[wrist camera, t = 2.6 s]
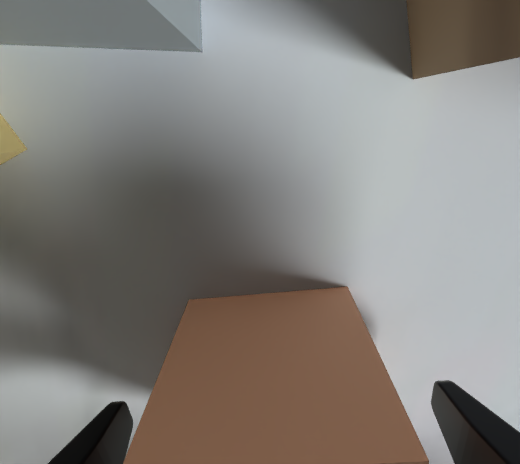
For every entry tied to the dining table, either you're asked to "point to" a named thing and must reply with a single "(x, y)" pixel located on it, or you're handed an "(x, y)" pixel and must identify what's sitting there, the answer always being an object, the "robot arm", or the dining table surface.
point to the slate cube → (103, 24)
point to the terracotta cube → (274, 387)
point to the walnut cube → (461, 34)
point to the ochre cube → (9, 142)
